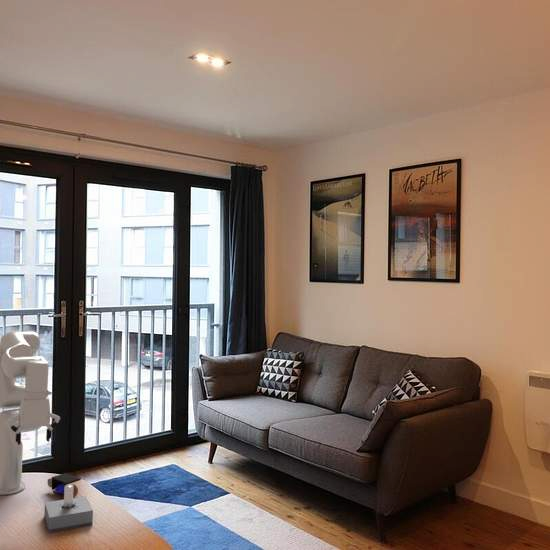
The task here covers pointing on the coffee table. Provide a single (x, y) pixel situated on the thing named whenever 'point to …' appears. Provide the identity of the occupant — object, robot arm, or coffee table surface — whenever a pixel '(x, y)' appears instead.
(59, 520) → the bore block
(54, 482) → the figurine character
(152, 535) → the coffee table surface
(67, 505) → the aluminium pin
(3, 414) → the robot arm
